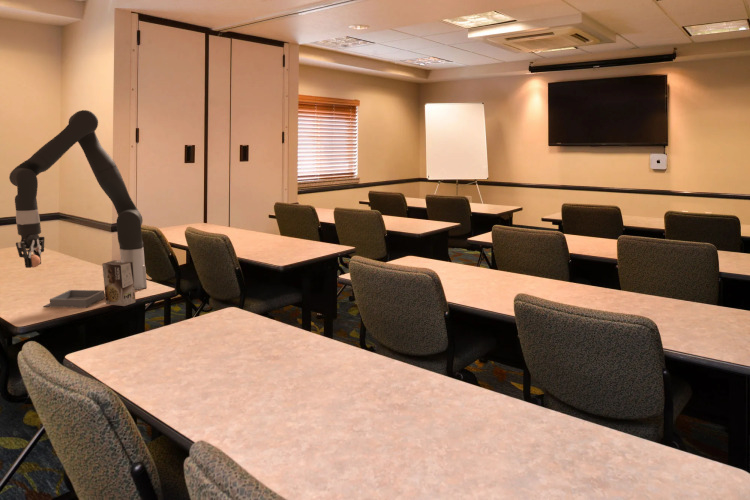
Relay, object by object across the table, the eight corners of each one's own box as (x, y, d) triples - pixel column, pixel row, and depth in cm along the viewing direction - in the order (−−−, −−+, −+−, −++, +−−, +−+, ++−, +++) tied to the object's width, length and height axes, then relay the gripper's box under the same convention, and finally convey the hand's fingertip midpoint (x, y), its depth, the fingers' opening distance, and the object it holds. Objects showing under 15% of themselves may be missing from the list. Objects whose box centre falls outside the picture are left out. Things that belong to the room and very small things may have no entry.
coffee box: (136, 302, 215) (133, 261, 212) (123, 306, 209) (120, 265, 206) (117, 299, 218) (114, 259, 215) (105, 304, 212) (101, 262, 209)
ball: (41, 265, 215) (40, 252, 214) (40, 268, 211) (39, 255, 210) (26, 266, 213) (24, 254, 212) (25, 269, 209) (24, 256, 208)
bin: (104, 297, 221) (103, 290, 220) (86, 307, 207) (85, 299, 207) (70, 297, 221) (70, 289, 220) (50, 306, 208) (49, 299, 207)
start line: (69, 296, 221) (69, 296, 221) (48, 307, 207) (48, 306, 207) (65, 296, 221) (64, 296, 221) (43, 306, 207) (43, 306, 207)
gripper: (30, 219, 216) (35, 261, 219) (5, 224, 202) (11, 270, 205) (49, 219, 215) (54, 262, 219) (26, 224, 201) (31, 270, 205)
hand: (33, 265), depth 212 cm, fingers closed on ball, 5 cm apart
